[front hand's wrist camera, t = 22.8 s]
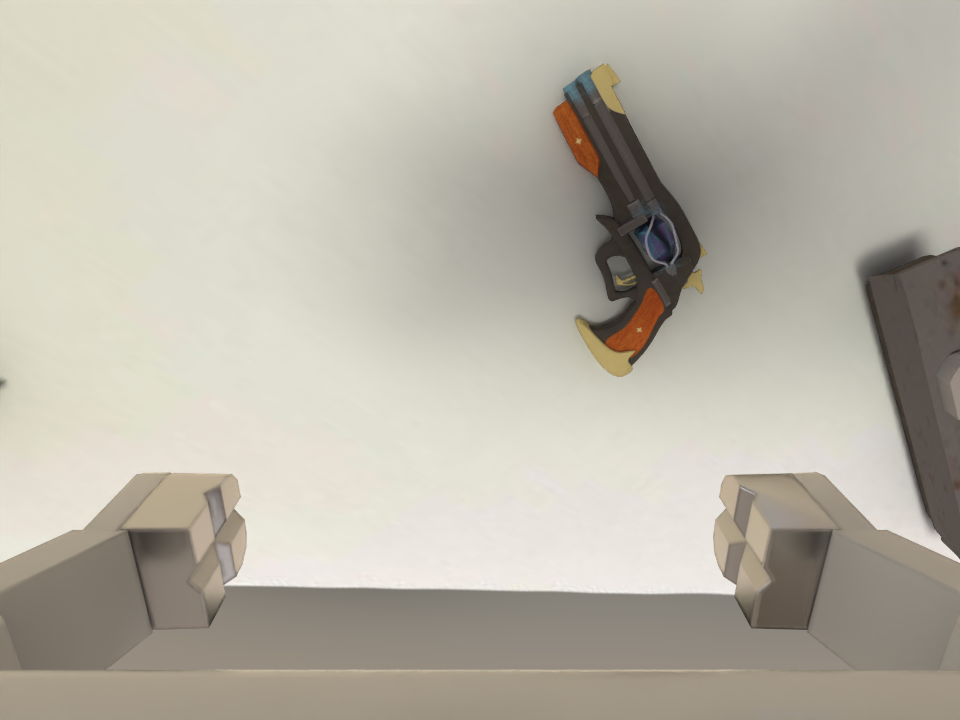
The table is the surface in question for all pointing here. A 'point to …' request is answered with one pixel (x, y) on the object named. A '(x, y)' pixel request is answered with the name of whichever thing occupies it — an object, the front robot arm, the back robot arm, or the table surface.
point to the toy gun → (628, 221)
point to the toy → (926, 374)
